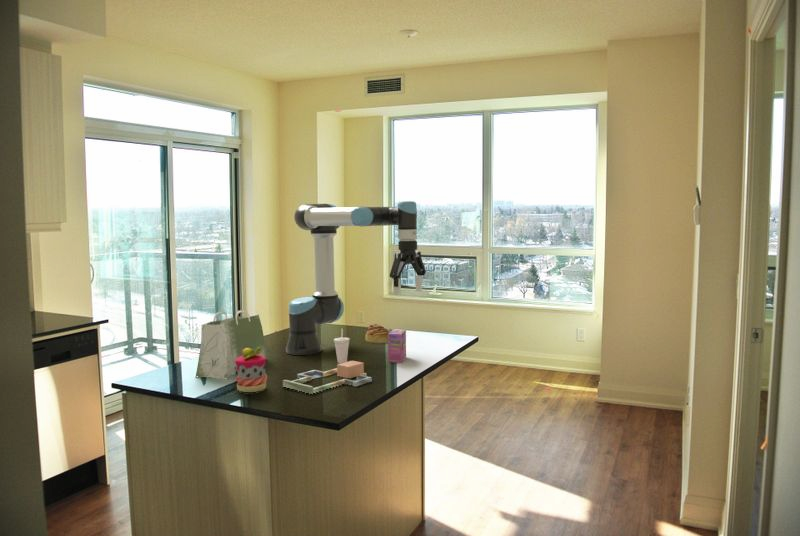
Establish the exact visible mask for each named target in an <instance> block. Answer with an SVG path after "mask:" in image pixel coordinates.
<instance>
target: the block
mask: <svg viewBox="0 0 800 536" xmlns="http://www.w3.org/2000/svg"><path fill="white" fill-rule="evenodd" d="M364 365H365V364H364V362H362V361H356V360H349V361H347V362H345V363H337V365H336V368H337V373H336V375H337V377H339V376H340V378H343V379H348V378H349V379H352V378H355V377H356V378H357V375H359V374H362V373H365V371H364V370H365V368H364V367H365V366H364Z"/></svg>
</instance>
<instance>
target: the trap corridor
mask: <svg viewBox="0 0 800 536" xmlns="http://www.w3.org/2000/svg"><path fill="white" fill-rule="evenodd" d="M335 374H336V375H337V367H336V368H332V369H329V370H325V371H322V370H318V369H312V370H309V371H305V372H301V373H297V374H296V375H297V379H294V380H288V379H283V380H282V388H283V387H286V388H285V389H287V388H290V389H289V390H291V389H295V390H298V391H297V392H299V391H302V392H305V393H304V394H306V393H309V394H308V395H310V394H312V395H314V394H313V393H315V394H317V393H316V392H318V393H320V392H319V391H321V392H324V391H327V390H326V389H328V390H330V389H329V388H331V389H334V388H337V387H340V386H343V385H342V384H344V385H347V384H348V386H351V385H352V387H359V386H362V385H364V384H365V385H366V384H368V383H371V382H373V377H372V376H368V375H367V373H366V372H364V373H362V374H359V375H357V376H356V379H353V380H352V379H348V378H343V379H340V380H337V381H332V382H329V383H326V384H323V385H319V386H315V387H314V386H312V385H309V384H305V383H307V381H308V382H311V381H313V380H315V379H319V378H326V377H328V376H331V375H332V376H333V375H335ZM298 378H299V379H298ZM312 379H313V380H312ZM339 385H340V386H339ZM336 386H337V387H336ZM333 387H334V388H333ZM295 390H294V391H295ZM323 390H324V391H323ZM302 392H301V393H302Z"/></svg>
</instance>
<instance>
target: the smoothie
mask: <svg viewBox="0 0 800 536" xmlns="http://www.w3.org/2000/svg"><path fill="white" fill-rule="evenodd" d="M343 329H344V328H340V330H341V335H340V337H335V338H333V342H334V347H335V353H336V359H337V364H341V363H345V362H348V354H349V343H350V340H351V339H350V338H349V337H346V336H345V337H343V335H344V331H343Z"/></svg>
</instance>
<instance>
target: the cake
mask: <svg viewBox="0 0 800 536" xmlns="http://www.w3.org/2000/svg"><path fill="white" fill-rule="evenodd" d="M260 350H261V348H260V347H258V348H257V349H256V350H255V351H254V350H253V349H250V348H245V349H244V350H243V355H244V356H241V357H238V358H237V359H236V360H235V364H236V366H235V369H236V373H235V375H236V376H235V381H237V383H236V390H239V391H243V392H256V391H260V390H263V389H265V388H266V389H267V381H268V375H267V373H266V372H267V368H266V363H267V357H266V358H265V357H264V356H262V355H257V354H259V353H260V352H261V351H260ZM266 389H265V390H266ZM263 391H264V390H263ZM256 393H257V392H256Z"/></svg>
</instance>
